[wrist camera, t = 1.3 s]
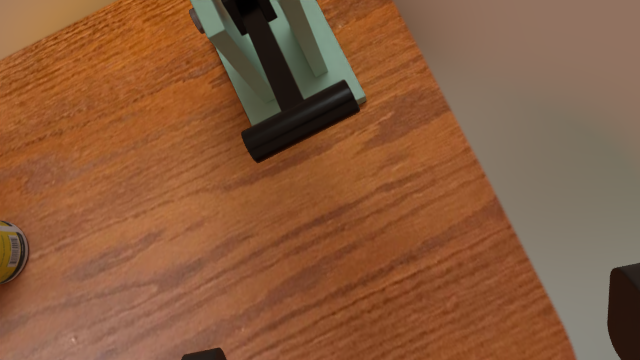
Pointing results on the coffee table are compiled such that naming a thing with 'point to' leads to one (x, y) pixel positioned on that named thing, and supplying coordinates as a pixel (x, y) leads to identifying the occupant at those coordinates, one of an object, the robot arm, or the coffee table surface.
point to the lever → (285, 88)
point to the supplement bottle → (11, 251)
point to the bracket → (296, 44)
